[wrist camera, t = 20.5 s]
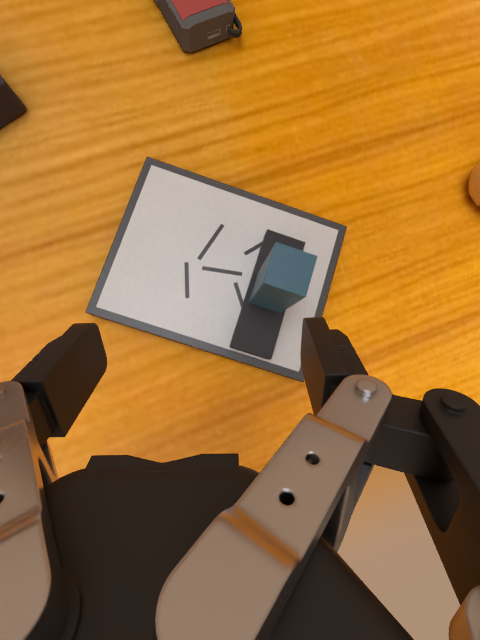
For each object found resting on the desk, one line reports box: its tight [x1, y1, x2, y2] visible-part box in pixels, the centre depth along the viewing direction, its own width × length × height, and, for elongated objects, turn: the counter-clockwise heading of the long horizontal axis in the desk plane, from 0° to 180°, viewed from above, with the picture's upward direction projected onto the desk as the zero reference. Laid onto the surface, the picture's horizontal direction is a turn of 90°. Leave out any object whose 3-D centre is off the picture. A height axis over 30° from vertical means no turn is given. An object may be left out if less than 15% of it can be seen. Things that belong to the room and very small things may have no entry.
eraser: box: [229, 229, 317, 359], centre depth 27 cm, size 12×4×10 cm, turn 163°
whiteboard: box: [86, 157, 347, 382], centre depth 32 cm, size 17×22×1 cm
